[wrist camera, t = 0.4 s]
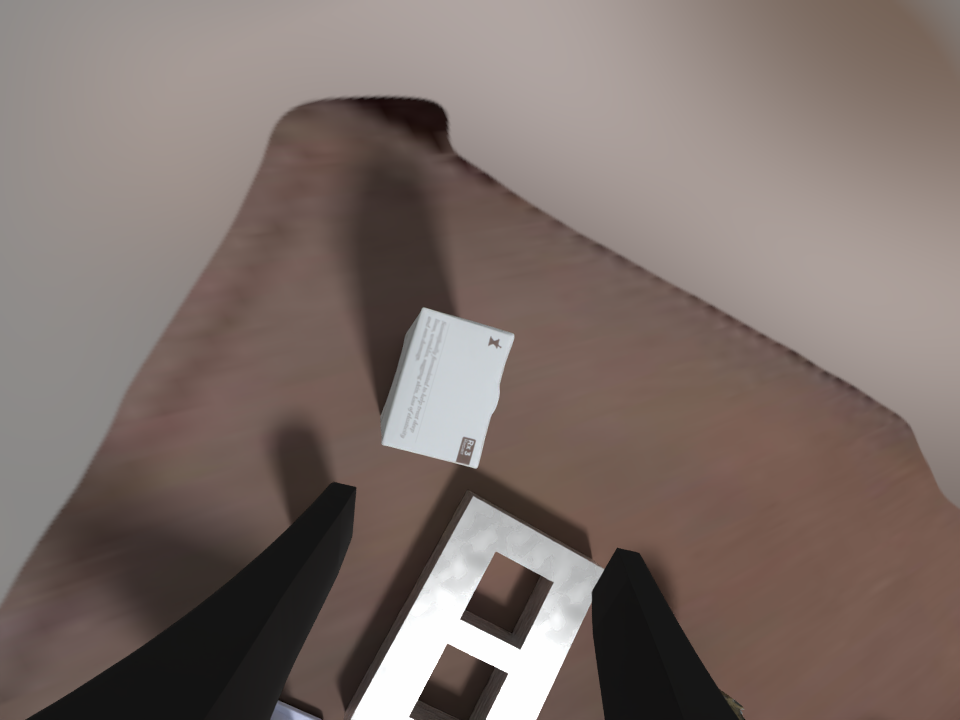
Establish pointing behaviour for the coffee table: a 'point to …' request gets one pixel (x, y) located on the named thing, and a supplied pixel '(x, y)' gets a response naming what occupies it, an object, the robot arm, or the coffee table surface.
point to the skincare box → (445, 387)
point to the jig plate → (481, 621)
